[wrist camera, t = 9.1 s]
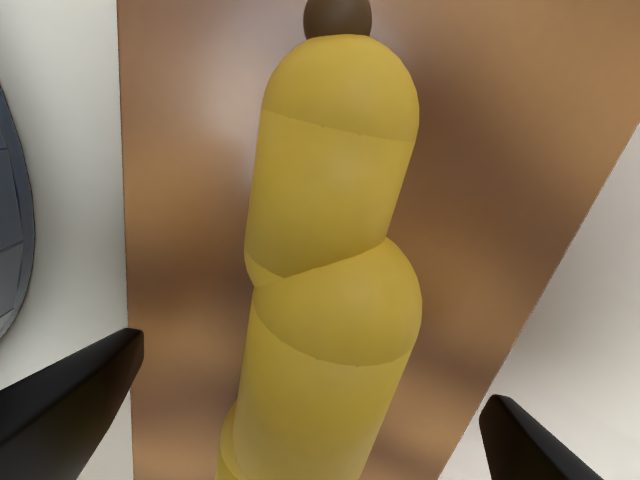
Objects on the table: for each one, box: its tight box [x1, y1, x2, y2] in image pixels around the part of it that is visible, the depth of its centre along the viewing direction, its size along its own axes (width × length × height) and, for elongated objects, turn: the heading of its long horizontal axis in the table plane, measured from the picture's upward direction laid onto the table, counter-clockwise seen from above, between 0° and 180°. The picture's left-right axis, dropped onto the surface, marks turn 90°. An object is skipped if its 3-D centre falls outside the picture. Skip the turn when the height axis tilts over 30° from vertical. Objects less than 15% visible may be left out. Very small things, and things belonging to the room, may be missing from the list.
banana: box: [215, 0, 422, 480], centre depth 8 cm, size 16×4×4 cm, turn 168°
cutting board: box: [117, 0, 640, 480], centre depth 11 cm, size 20×12×1 cm, turn 168°
